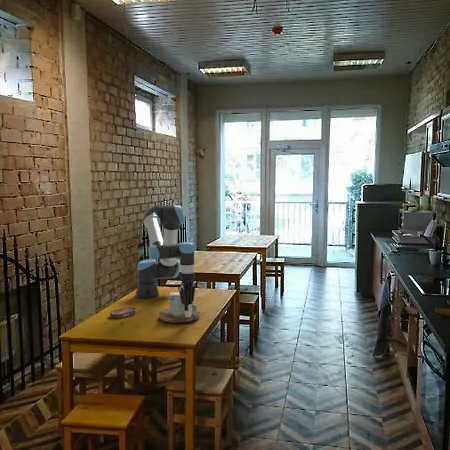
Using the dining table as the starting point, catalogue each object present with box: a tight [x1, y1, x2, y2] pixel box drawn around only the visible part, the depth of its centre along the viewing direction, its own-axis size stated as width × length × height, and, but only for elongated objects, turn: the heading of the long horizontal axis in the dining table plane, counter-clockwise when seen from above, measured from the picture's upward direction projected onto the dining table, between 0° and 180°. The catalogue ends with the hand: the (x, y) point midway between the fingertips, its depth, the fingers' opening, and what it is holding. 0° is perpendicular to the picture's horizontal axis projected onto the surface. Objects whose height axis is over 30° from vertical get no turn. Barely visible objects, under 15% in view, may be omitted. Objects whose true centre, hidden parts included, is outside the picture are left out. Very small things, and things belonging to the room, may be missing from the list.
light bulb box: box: [168, 291, 185, 314], centre depth 249 cm, size 11×7×11 cm, turn 91°
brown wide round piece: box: [158, 303, 201, 324], centre depth 249 cm, size 22×22×8 cm
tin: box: [109, 306, 136, 320], centre depth 255 cm, size 15×3×8 cm
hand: (187, 316), depth 239 cm, fingers closed
